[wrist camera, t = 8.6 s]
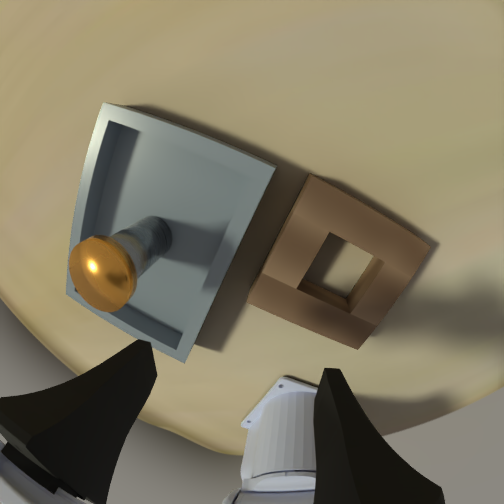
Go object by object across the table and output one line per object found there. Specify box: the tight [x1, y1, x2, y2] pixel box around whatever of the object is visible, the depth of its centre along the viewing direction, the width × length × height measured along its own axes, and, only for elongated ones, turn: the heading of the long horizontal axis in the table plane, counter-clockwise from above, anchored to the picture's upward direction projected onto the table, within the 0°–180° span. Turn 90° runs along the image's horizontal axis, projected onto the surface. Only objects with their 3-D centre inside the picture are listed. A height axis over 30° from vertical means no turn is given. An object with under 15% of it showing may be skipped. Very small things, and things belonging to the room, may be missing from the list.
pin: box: [69, 216, 173, 312], centre depth 16 cm, size 4×4×7 cm
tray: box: [66, 102, 277, 363], centre depth 19 cm, size 16×12×2 cm
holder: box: [246, 173, 431, 350], centre depth 18 cm, size 9×9×2 cm
